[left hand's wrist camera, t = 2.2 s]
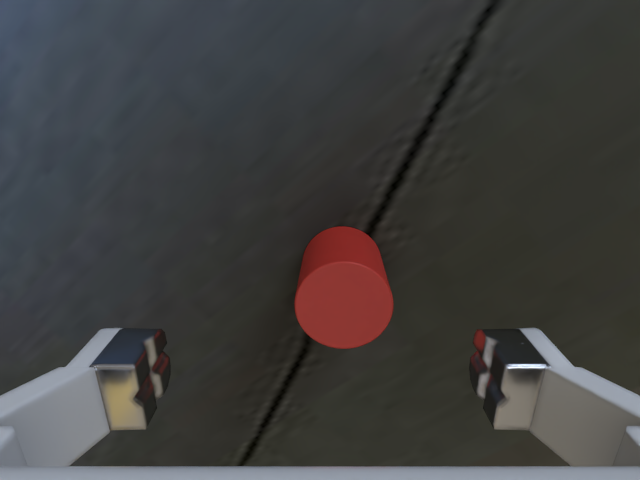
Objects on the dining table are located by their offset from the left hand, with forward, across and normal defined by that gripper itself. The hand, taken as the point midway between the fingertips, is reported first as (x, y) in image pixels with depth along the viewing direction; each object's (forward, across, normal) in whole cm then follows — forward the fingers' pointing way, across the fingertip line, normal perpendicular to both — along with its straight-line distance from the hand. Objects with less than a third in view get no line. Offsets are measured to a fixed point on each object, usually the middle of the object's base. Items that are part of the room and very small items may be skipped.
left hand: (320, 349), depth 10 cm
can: (+10, +1, -2) cm, 10 cm away
